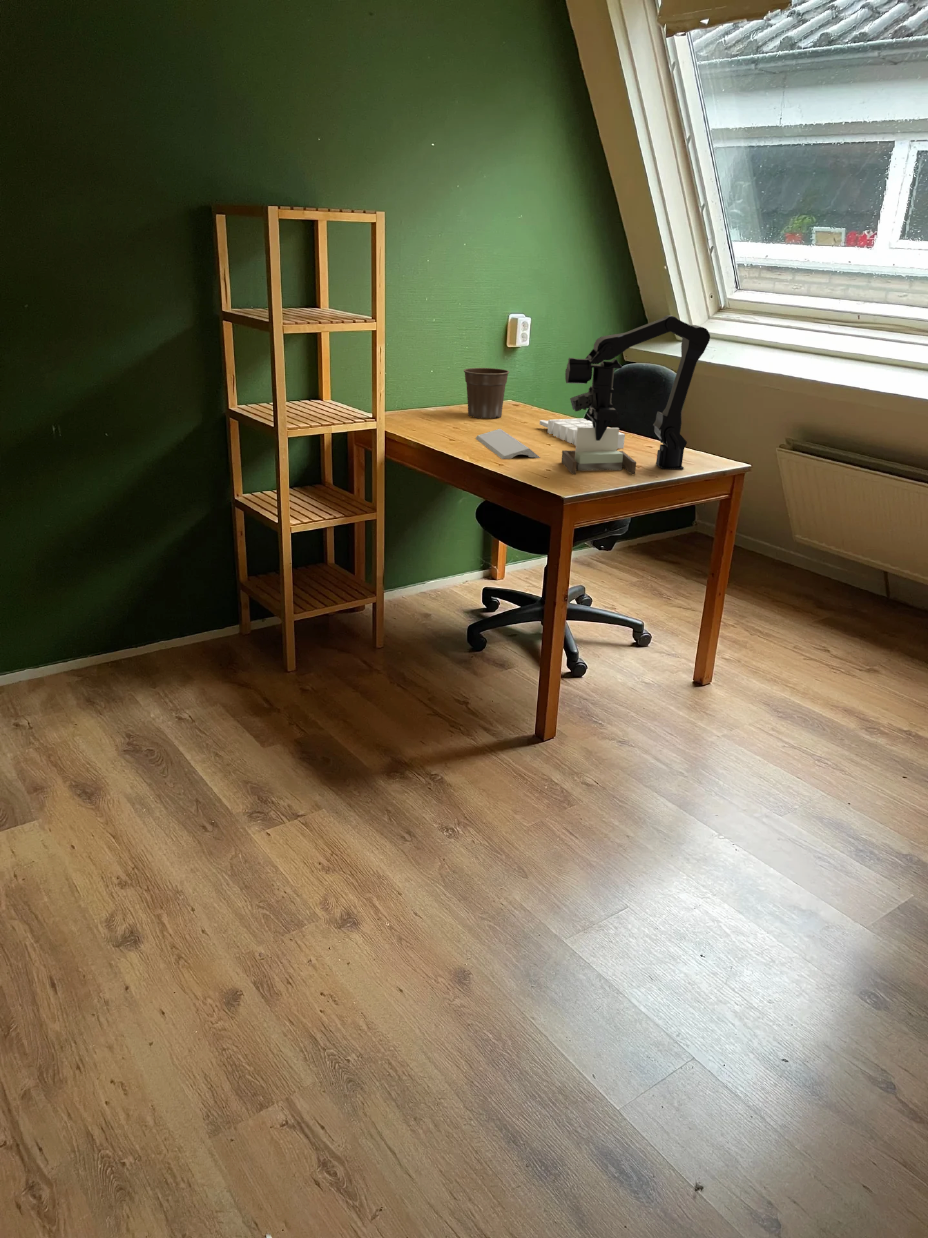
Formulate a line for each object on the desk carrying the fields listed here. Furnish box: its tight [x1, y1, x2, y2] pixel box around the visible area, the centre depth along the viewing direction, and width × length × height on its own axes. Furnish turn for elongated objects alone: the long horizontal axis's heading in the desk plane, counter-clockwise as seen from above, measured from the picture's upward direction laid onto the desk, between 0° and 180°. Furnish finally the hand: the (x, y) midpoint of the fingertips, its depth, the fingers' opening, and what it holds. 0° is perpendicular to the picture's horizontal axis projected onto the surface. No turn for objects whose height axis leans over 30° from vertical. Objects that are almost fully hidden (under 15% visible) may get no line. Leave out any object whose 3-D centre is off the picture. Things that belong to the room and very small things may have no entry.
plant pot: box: [463, 367, 510, 419], centre depth 324 cm, size 16×16×16 cm
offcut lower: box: [576, 462, 623, 472], centre depth 258 cm, size 13×4×2 cm, turn 100°
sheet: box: [574, 427, 620, 456], centre depth 259 cm, size 12×1×11 cm, turn 96°
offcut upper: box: [575, 450, 623, 464], centre depth 256 cm, size 13×4×2 cm, turn 105°
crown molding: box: [475, 428, 541, 460], centre depth 279 cm, size 29×12×4 cm, turn 15°
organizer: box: [539, 417, 626, 450], centre depth 296 cm, size 13×5×35 cm
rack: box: [561, 450, 637, 475], centre depth 258 cm, size 18×14×4 cm
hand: (597, 439), depth 258 cm, fingers closed
